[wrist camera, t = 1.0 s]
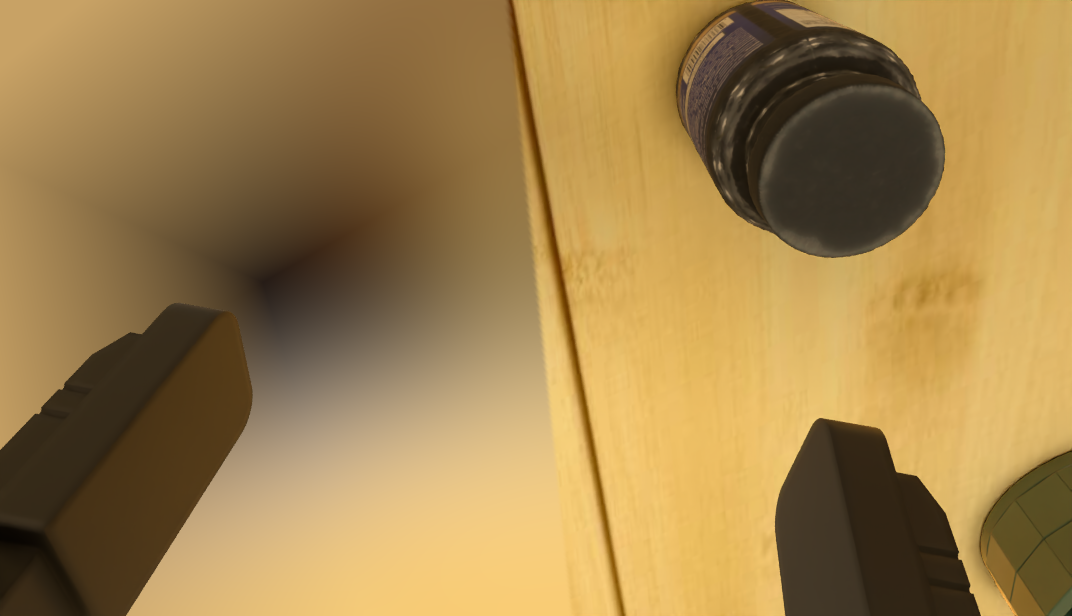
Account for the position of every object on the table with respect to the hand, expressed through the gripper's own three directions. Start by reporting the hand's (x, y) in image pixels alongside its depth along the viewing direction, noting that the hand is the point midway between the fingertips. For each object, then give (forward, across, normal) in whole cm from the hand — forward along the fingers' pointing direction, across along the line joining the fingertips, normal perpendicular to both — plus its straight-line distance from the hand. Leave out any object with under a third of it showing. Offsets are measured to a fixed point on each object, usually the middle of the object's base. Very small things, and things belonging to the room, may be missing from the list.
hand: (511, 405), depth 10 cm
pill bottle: (+22, -6, +2) cm, 23 cm away
